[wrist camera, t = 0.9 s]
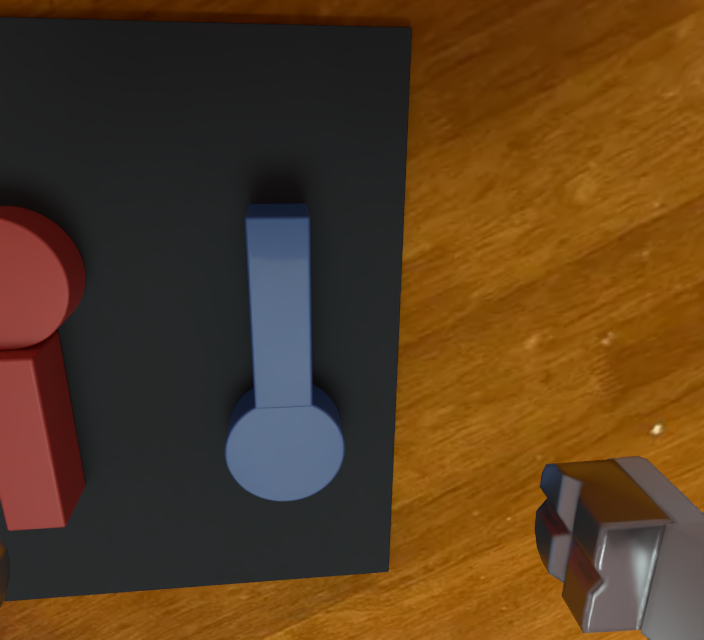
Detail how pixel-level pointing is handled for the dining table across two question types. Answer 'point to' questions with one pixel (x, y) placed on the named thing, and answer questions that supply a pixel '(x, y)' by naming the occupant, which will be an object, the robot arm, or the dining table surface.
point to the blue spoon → (282, 368)
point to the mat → (208, 283)
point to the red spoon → (36, 371)
